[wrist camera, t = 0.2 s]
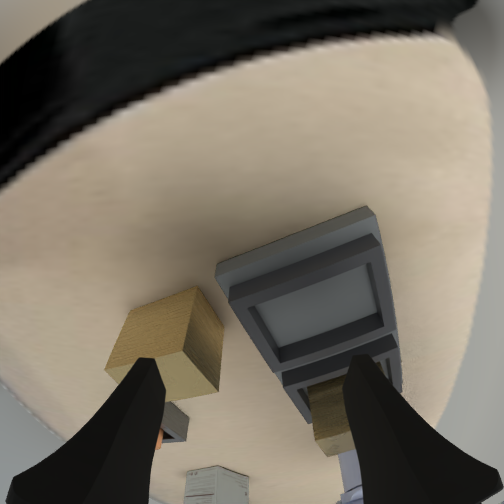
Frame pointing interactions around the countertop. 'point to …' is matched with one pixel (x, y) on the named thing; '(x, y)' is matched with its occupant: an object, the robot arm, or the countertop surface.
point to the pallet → (317, 303)
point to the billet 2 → (331, 416)
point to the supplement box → (216, 487)
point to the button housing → (174, 424)
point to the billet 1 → (173, 344)
